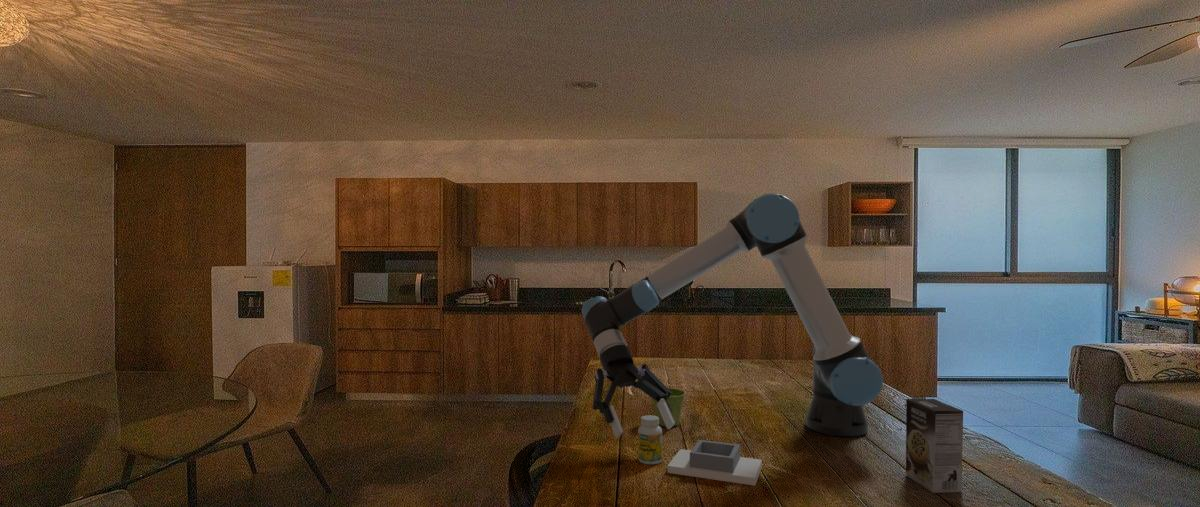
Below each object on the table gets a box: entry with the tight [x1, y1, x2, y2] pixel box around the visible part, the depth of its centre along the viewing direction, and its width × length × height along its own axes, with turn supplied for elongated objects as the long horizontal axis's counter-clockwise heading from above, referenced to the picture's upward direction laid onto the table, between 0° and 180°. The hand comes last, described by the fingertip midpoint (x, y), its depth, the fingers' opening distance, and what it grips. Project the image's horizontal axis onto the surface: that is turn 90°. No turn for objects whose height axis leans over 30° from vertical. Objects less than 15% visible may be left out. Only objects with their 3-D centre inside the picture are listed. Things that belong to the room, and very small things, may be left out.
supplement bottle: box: [637, 414, 663, 465], centre depth 132 cm, size 5×5×10 cm
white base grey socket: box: [667, 439, 763, 487], centre depth 126 cm, size 18×11×4 cm, turn 68°
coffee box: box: [905, 398, 964, 494], centre depth 119 cm, size 9×6×16 cm
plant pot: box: [653, 387, 687, 428], centre depth 159 cm, size 9×9×9 cm
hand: (646, 430), depth 132 cm, fingers open, 13 cm apart
